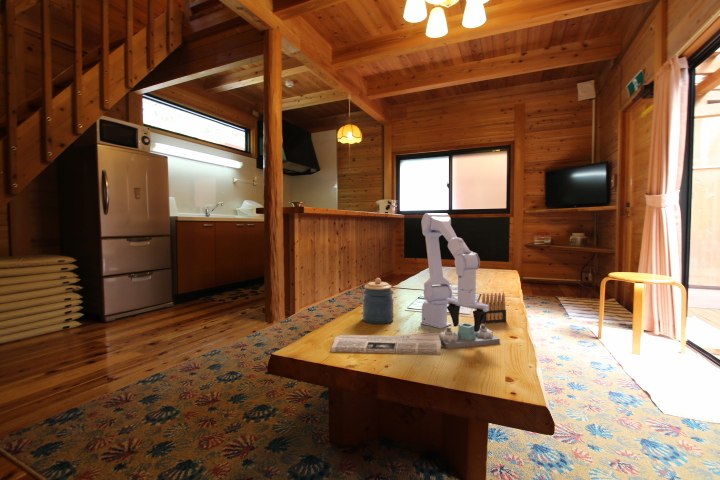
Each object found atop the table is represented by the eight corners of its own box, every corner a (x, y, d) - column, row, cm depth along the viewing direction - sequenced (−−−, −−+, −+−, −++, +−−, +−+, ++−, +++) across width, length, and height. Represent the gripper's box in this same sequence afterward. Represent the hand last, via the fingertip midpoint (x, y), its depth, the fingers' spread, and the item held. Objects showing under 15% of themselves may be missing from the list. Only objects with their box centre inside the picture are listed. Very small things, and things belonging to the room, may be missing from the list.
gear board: (446, 348, 104) (446, 333, 104) (433, 339, 113) (433, 325, 113) (499, 343, 109) (499, 328, 109) (483, 334, 118) (483, 320, 118)
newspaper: (331, 353, 102) (330, 342, 102) (336, 339, 115) (336, 329, 114) (445, 355, 100) (445, 344, 100) (437, 341, 113) (438, 331, 112)
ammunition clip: (503, 320, 135) (504, 291, 134) (506, 321, 133) (507, 292, 132) (480, 322, 133) (480, 293, 132) (482, 323, 131) (483, 293, 130)
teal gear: (454, 336, 111) (454, 325, 111) (462, 332, 115) (463, 321, 115) (470, 341, 107) (470, 329, 107) (479, 336, 111) (479, 325, 111)
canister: (390, 325, 128) (390, 281, 127) (358, 323, 132) (358, 279, 131) (396, 316, 141) (396, 276, 140) (367, 314, 144) (366, 274, 144)
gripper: (493, 290, 108) (492, 330, 108) (453, 284, 118) (453, 321, 119) (483, 293, 103) (482, 335, 104) (442, 287, 113) (442, 325, 114)
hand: (466, 328), depth 111 cm, fingers open, 7 cm apart
